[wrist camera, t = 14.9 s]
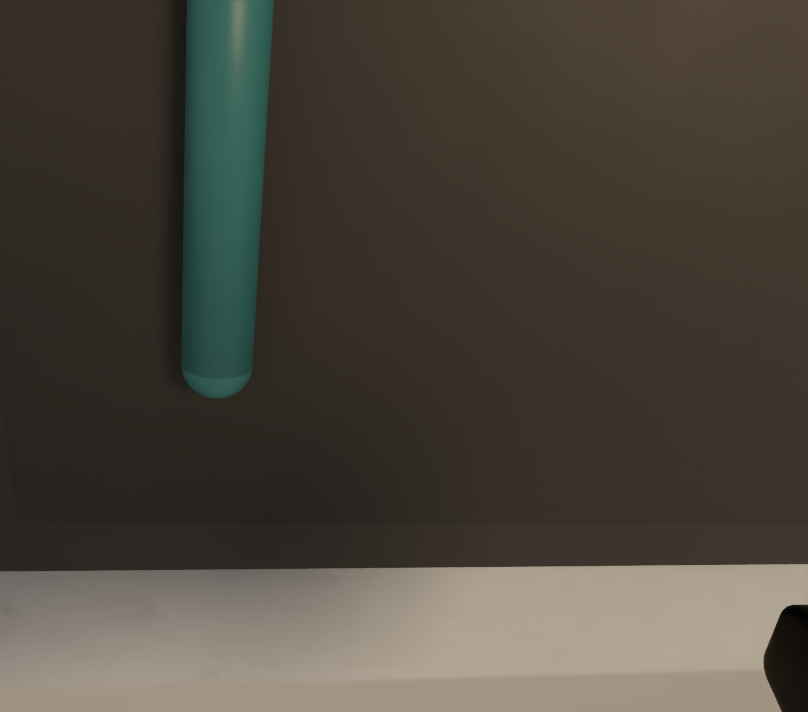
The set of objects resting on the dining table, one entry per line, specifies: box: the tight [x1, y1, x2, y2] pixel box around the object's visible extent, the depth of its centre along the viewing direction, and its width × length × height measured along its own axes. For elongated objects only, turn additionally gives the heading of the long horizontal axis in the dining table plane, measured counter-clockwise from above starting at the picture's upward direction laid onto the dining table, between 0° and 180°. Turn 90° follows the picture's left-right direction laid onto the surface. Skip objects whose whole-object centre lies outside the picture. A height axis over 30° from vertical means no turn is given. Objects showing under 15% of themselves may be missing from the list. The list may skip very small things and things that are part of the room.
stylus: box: [181, 0, 274, 399], centre depth 12 cm, size 1×1×13 cm
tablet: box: [0, 0, 808, 571], centre depth 15 cm, size 28×20×1 cm
